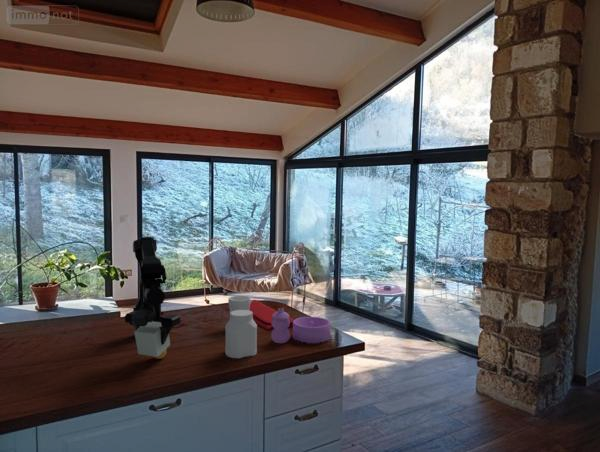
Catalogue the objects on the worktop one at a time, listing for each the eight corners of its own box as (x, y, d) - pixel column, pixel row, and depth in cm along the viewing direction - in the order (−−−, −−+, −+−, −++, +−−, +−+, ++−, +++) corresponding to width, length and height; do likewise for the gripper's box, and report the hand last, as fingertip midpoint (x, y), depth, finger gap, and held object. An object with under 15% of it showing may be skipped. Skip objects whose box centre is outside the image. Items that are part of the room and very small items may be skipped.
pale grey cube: (138, 354, 155) (134, 331, 152) (151, 342, 162) (147, 320, 159) (157, 356, 153) (154, 334, 150) (170, 344, 160) (166, 322, 157)
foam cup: (246, 332, 190) (246, 301, 189) (225, 330, 192) (225, 300, 191) (253, 325, 200) (253, 296, 199) (233, 323, 202) (233, 295, 200)
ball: (155, 340, 162) (157, 352, 163) (147, 348, 157) (149, 361, 159) (168, 342, 160) (170, 354, 162) (160, 350, 156) (162, 362, 157)
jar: (231, 359, 159) (231, 318, 158) (221, 351, 168) (221, 311, 166) (261, 354, 165) (261, 314, 164) (250, 346, 173) (250, 307, 172)
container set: (319, 329, 195) (320, 299, 194) (336, 340, 182) (337, 308, 181) (265, 336, 185) (265, 305, 184) (279, 349, 171) (279, 314, 170)
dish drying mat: (268, 332, 192) (268, 323, 192) (229, 309, 227) (229, 302, 226) (299, 326, 201) (300, 318, 200) (257, 305, 235) (257, 298, 235)
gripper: (113, 301, 150) (114, 347, 151) (162, 306, 144) (162, 354, 146) (134, 294, 160) (135, 337, 162) (181, 298, 155) (181, 343, 156)
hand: (152, 343), depth 156 cm, fingers closed on pale grey cube, 8 cm apart
